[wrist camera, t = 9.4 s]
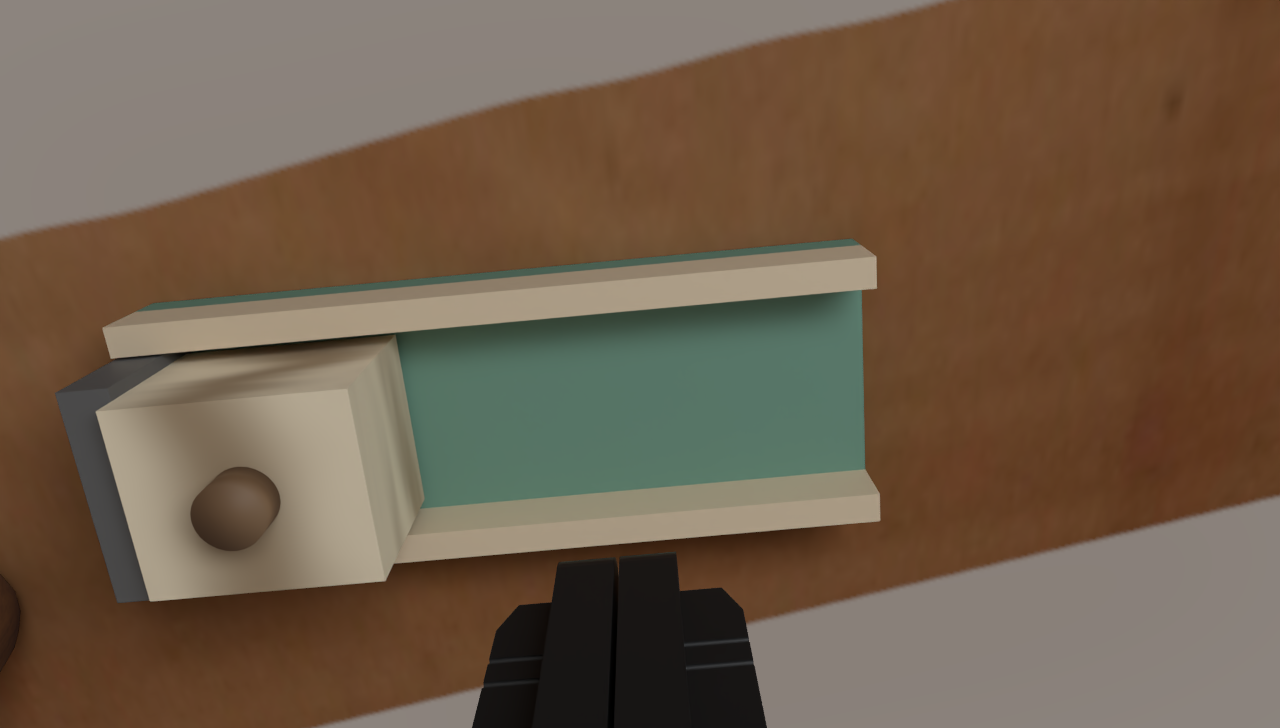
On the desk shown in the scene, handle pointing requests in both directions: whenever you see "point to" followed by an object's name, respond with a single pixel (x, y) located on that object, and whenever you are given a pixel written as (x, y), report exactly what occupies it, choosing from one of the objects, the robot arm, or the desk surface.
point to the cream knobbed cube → (267, 468)
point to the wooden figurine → (8, 620)
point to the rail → (567, 396)
